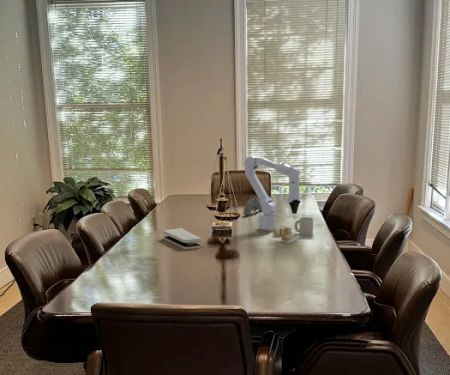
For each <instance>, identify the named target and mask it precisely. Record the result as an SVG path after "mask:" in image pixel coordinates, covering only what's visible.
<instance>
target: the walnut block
mask: <svg viewBox="0 0 450 375" xmlns="http://www.w3.org/2000/svg"><path fill="white" fill-rule="evenodd" d="M284 227H285V226H284V225H283V226H282V225H278V226H276V227H275V228H273V231H272V232H273V236H278V237H280V236H281V233H282V228H284Z"/></svg>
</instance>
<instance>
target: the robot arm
mask: <svg viewBox="0 0 450 375" xmlns="http://www.w3.org/2000/svg"><path fill="white" fill-rule="evenodd" d="M243 165H244V171H245V172H244V173H245V174H244V175H245V177H246V178H247V180H248V181H249V183H250V185H251V188H252V189H253V190H254V192H255V194H256V197H257V198H258V199H260V205H261V207H262V211H261V212H262V213H260V214H259V215H258V228H257V229H258V230H264V231H270V232H273V228H275V227H277V226H276V224H277V223H276V222H277V217H276V216H277V213H276V211H277V209H278V204H277V203H276V202H275V201H273V199H272V198H271V197H270V196H269V194H267V191H266V190H265V188H264V186H263V184H262V183H261V181H260V180H259V178H258V176H257V174H256V172H257V169H258V167H259V166H266V167H267V168H268V167H269V168H271V169H274V170H275V171H276V172H277V173H278V174H280V175H283V176H286V177H288V198H286V203H288V205H289V206H290V209H291V213H292V214H294V215H295V214H297V212H298V209H299V206H300V203H301V200H302V199H303V195H300V175H301V170H300V168H298V167H296V166H294V167H293V165H289V164H286V163H285V162H284V161H283V162H279V163H277V162H274V161H271V160H270V159H268V158H265V157H263V156H258V155H256V154H255V155H250V156H248V157H246V158H245V160H244V163H243Z"/></svg>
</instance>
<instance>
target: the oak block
mask: <svg viewBox="0 0 450 375" xmlns="http://www.w3.org/2000/svg"><path fill="white" fill-rule="evenodd" d="M291 234H292V227H288V226H284V228H282V233H281V240H285V241H289V240H291Z"/></svg>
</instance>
